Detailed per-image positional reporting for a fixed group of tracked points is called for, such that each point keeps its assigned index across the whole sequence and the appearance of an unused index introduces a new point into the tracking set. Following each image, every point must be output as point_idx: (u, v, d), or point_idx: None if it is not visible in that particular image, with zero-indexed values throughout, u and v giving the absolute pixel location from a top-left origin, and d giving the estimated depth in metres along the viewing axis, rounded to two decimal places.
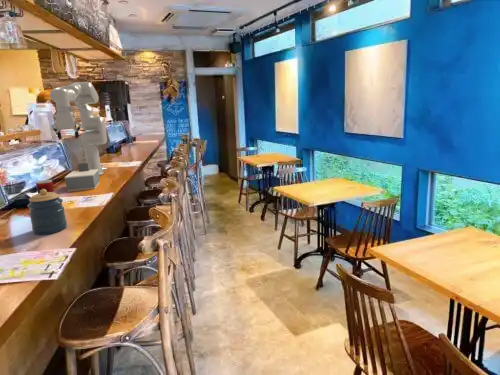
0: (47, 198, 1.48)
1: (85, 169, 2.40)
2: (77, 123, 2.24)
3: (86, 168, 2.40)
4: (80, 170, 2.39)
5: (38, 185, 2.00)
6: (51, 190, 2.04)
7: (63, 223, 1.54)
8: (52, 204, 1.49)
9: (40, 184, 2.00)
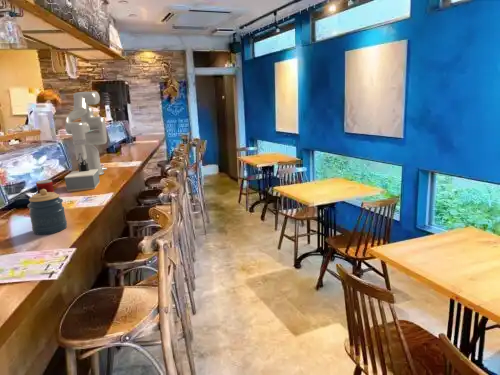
0: (47, 198, 1.48)
1: None
2: None
3: (86, 168, 2.40)
4: (80, 170, 2.39)
5: (38, 185, 2.00)
6: (51, 190, 2.04)
7: (63, 223, 1.54)
8: (52, 204, 1.49)
9: (40, 184, 2.00)
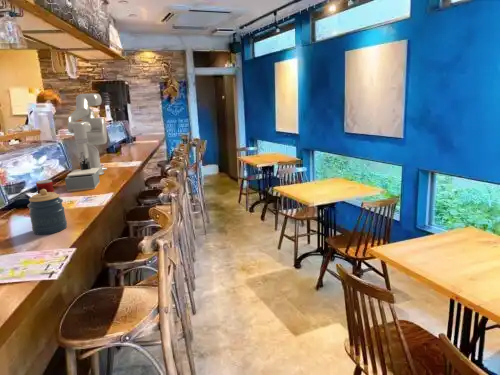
0: (47, 198, 1.48)
1: None
2: None
3: (88, 166, 2.46)
4: (82, 168, 2.45)
5: (38, 185, 2.00)
6: (51, 190, 2.04)
7: (63, 223, 1.54)
8: (52, 204, 1.49)
9: (40, 184, 2.00)
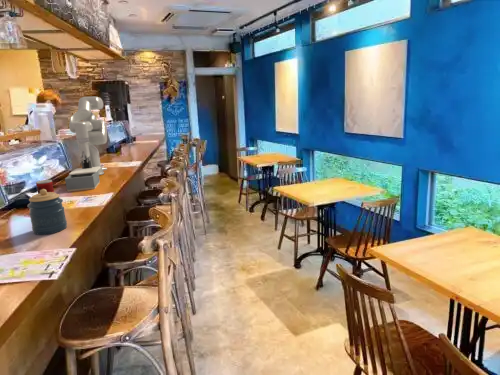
0: (47, 198, 1.48)
1: None
2: None
3: (89, 165, 2.50)
4: (83, 167, 2.50)
5: (38, 185, 2.00)
6: (51, 190, 2.04)
7: (63, 223, 1.54)
8: (52, 204, 1.49)
9: (40, 184, 2.00)
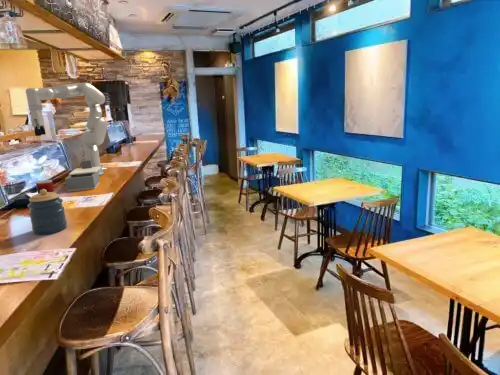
0: (47, 198, 1.48)
1: (88, 166, 2.50)
2: None
3: (89, 165, 2.50)
4: (83, 167, 2.50)
5: (38, 185, 2.00)
6: (51, 190, 2.04)
7: (63, 223, 1.54)
8: (52, 204, 1.49)
9: (40, 184, 2.00)
